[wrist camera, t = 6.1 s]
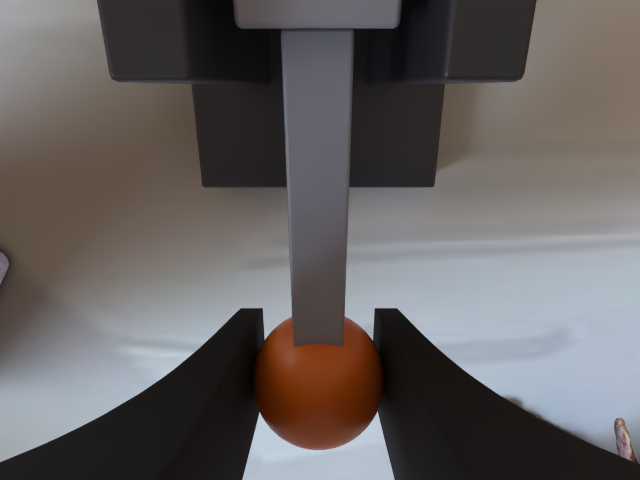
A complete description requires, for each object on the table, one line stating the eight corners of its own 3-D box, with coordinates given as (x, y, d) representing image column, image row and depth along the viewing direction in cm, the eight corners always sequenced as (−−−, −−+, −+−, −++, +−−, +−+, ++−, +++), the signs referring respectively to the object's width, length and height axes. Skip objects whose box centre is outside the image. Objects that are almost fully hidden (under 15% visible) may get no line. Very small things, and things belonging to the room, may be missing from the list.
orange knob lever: (372, 374, 12) (388, 480, 9) (265, 374, 12) (249, 480, 9) (416, -169, 6) (492, -319, 4) (217, -170, 6) (139, -321, 4)
